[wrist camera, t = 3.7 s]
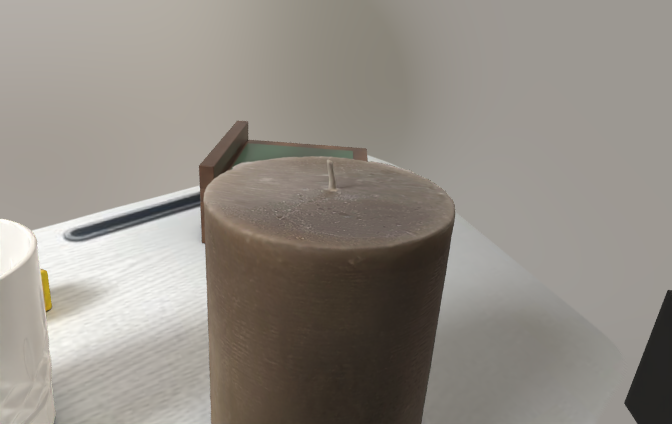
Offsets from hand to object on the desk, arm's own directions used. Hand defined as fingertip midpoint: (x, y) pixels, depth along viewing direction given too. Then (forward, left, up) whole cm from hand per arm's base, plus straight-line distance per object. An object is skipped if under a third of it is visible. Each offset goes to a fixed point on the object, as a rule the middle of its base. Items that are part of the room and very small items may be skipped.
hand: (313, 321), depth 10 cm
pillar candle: (0, -10, -15) cm, 18 cm away
